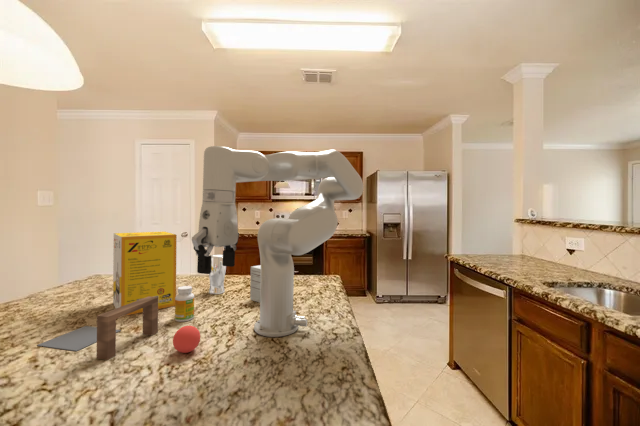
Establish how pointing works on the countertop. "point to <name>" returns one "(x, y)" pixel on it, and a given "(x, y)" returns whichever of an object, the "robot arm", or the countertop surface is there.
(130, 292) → the packaging box
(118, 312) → the bridge
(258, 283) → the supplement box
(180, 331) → the ball
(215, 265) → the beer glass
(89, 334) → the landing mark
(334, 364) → the countertop surface
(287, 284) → the robot arm
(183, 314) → the supplement bottle
